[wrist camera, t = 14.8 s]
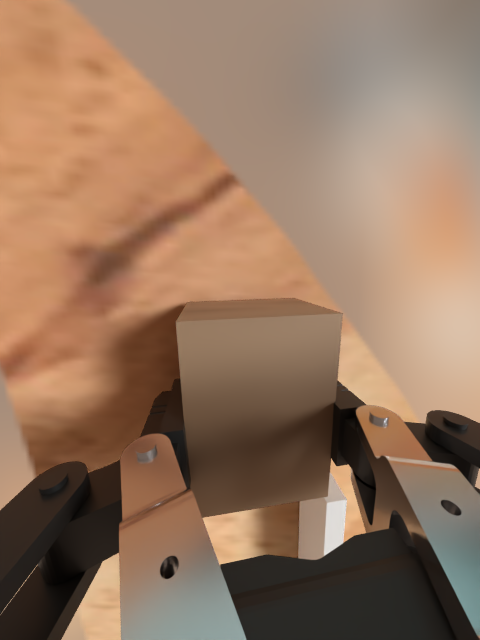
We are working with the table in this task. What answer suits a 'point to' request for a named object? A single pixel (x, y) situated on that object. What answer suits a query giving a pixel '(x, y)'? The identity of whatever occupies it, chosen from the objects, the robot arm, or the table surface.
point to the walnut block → (258, 400)
